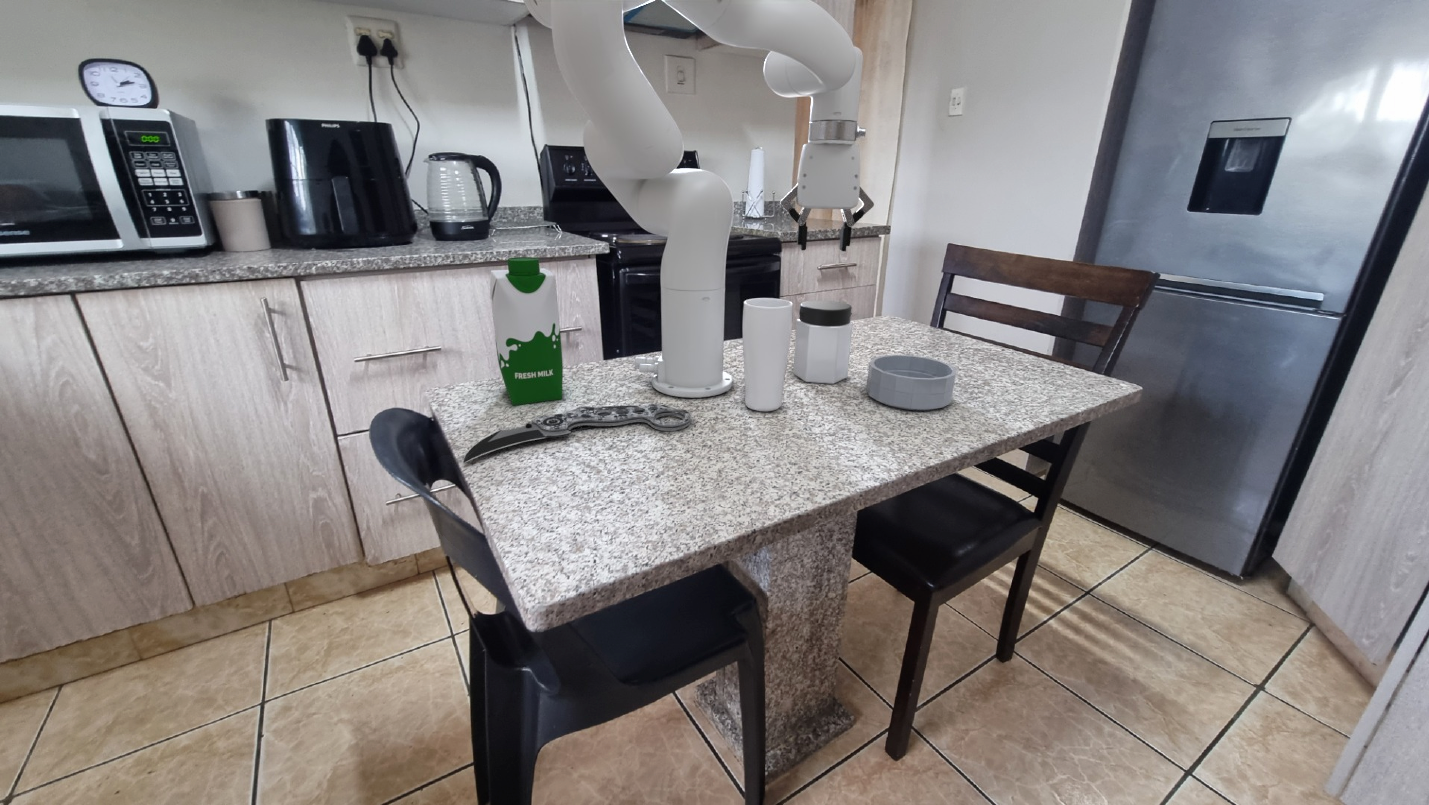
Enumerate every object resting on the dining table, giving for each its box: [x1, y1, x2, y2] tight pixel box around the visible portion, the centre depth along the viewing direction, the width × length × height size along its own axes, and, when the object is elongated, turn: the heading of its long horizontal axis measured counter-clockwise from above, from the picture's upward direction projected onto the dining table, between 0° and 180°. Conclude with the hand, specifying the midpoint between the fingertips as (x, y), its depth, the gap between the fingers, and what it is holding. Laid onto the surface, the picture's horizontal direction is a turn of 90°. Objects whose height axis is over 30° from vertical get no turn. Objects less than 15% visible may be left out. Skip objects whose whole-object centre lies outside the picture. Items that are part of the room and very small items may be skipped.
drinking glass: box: [741, 297, 794, 412], centre depth 81 cm, size 7×7×15 cm
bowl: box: [865, 354, 958, 411], centre depth 87 cm, size 12×12×5 cm
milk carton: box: [489, 256, 564, 406], centre depth 83 cm, size 9×9×20 cm
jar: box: [792, 299, 854, 385], centre depth 95 cm, size 9×8×12 cm
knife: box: [462, 403, 692, 464], centre depth 73 cm, size 28×2×10 cm
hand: (822, 249), depth 100 cm, fingers open, 6 cm apart
